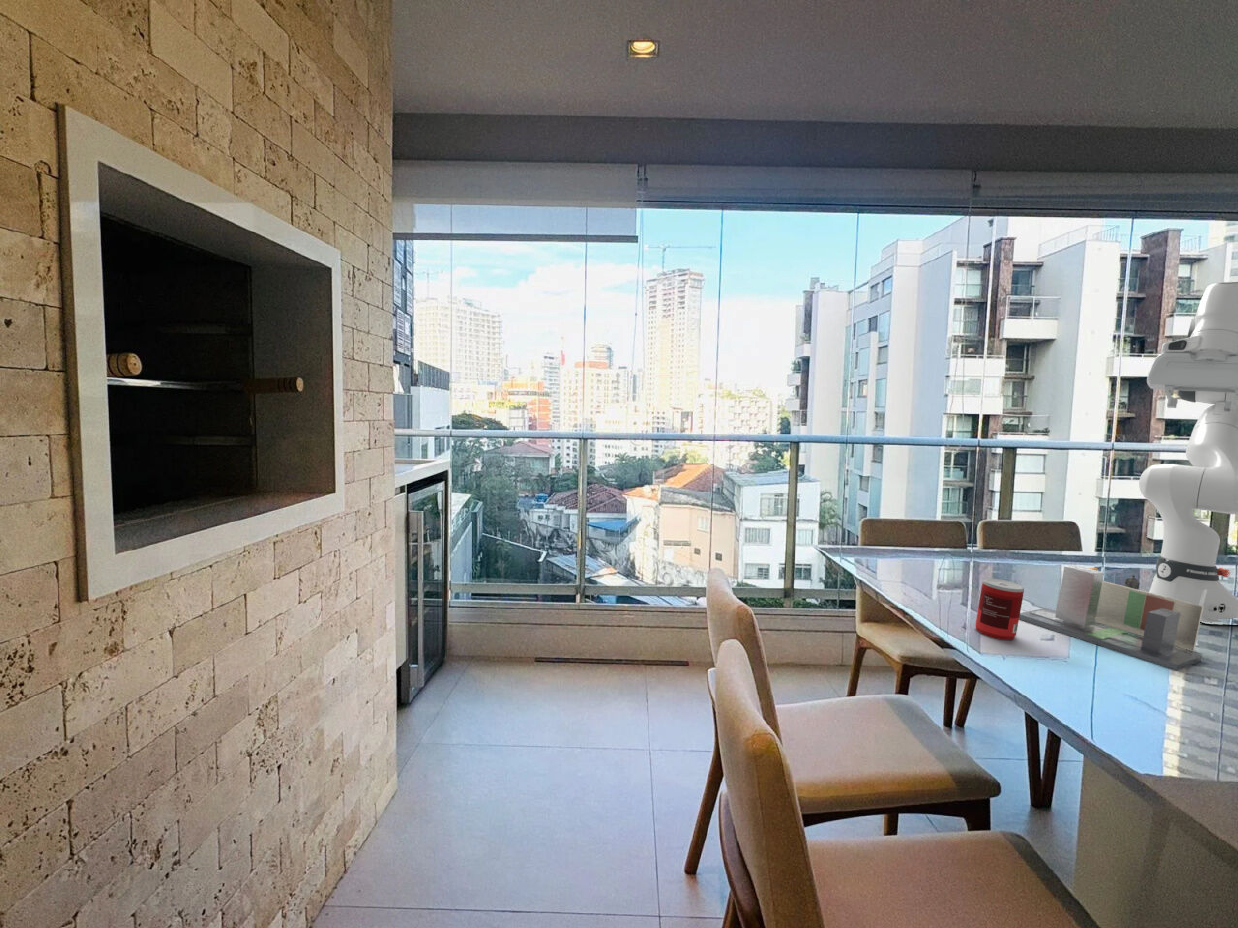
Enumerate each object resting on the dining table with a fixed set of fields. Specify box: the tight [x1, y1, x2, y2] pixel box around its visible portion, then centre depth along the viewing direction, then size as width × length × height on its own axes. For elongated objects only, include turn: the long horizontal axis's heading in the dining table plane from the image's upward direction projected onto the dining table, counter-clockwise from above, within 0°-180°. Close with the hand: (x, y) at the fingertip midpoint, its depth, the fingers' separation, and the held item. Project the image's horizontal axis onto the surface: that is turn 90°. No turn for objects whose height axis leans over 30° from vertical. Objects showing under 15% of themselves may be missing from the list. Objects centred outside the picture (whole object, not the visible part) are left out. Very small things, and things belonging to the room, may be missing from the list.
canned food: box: [974, 577, 1025, 641], centre depth 140 cm, size 8×8×11 cm
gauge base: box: [1019, 580, 1204, 671], centre depth 147 cm, size 30×21×10 cm
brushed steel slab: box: [1055, 564, 1105, 627], centre depth 151 cm, size 6×8×12 cm
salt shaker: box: [1123, 574, 1141, 590], centre depth 160 cm, size 6×6×12 cm
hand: (1199, 408), depth 144 cm, fingers open, 8 cm apart
